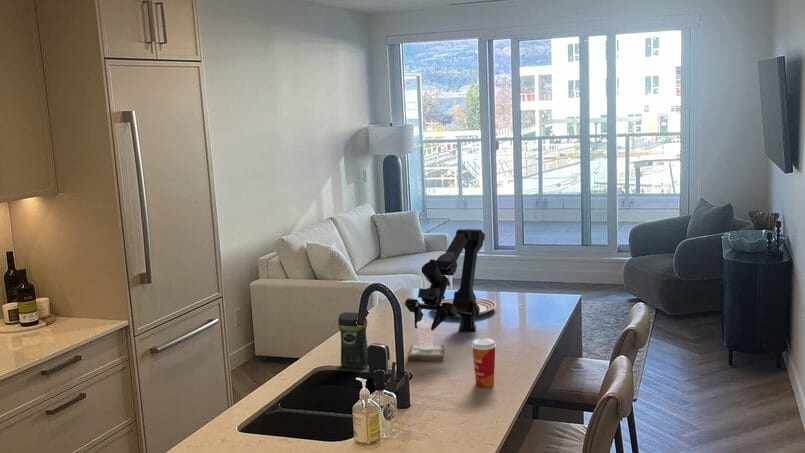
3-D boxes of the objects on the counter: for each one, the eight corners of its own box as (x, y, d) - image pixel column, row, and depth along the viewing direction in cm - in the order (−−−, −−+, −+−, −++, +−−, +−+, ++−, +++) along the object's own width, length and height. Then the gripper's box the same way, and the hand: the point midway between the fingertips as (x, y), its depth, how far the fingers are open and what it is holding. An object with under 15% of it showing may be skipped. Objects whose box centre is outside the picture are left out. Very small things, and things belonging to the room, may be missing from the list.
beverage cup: (428, 343, 277) (426, 305, 275) (438, 347, 273) (436, 308, 270) (414, 347, 274) (412, 309, 272) (424, 351, 269) (422, 312, 267)
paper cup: (470, 380, 249) (469, 338, 246) (494, 379, 249) (493, 337, 247) (475, 390, 241) (473, 346, 239) (499, 388, 242) (498, 344, 239)
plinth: (410, 350, 280) (410, 344, 280) (444, 350, 279) (444, 344, 279) (408, 362, 268) (407, 356, 268) (443, 361, 267) (442, 355, 267)
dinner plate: (433, 303, 342) (433, 295, 341) (496, 302, 338) (496, 295, 337) (427, 321, 315) (427, 313, 314) (495, 321, 311) (495, 313, 311)
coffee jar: (372, 362, 270) (369, 310, 267) (363, 370, 263) (360, 317, 260) (347, 360, 274) (344, 308, 270) (337, 368, 266) (334, 315, 263)
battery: (392, 376, 256) (390, 343, 254) (386, 380, 252) (385, 347, 250) (373, 374, 259) (371, 341, 257) (368, 378, 255) (366, 344, 253)
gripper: (405, 276, 277) (391, 315, 270) (452, 280, 268) (439, 320, 260) (417, 292, 285) (403, 330, 278) (463, 296, 276) (450, 336, 268)
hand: (423, 329), depth 271 cm, fingers closed on beverage cup, 6 cm apart
